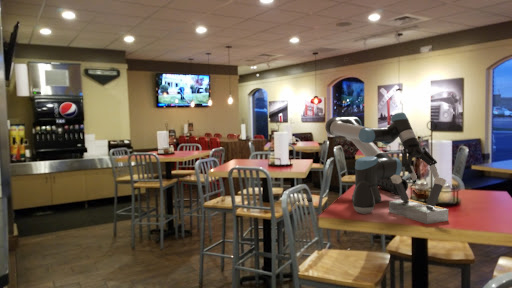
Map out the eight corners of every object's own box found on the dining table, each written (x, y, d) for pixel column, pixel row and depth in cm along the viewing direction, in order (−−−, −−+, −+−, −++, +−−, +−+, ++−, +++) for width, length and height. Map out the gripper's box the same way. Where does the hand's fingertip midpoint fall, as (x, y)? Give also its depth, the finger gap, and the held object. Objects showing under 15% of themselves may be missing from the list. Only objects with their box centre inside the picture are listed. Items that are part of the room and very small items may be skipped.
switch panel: (389, 212, 184) (389, 201, 184) (408, 209, 189) (408, 198, 188) (426, 224, 163) (427, 211, 163) (448, 220, 167) (448, 208, 167)
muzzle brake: (392, 196, 219) (392, 178, 218) (371, 187, 247) (371, 171, 246) (408, 195, 220) (408, 177, 220) (385, 186, 248) (385, 170, 247)
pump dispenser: (371, 216, 177) (371, 183, 176) (349, 213, 183) (349, 181, 182) (377, 211, 186) (378, 180, 185) (356, 209, 191) (356, 178, 190)
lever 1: (401, 202, 183) (390, 177, 180) (405, 199, 184) (394, 174, 181) (407, 204, 180) (395, 178, 177) (411, 201, 181) (399, 175, 177)
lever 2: (423, 206, 170) (435, 176, 172) (427, 208, 171) (439, 179, 173) (430, 208, 167) (442, 177, 168) (434, 210, 168) (446, 180, 169)
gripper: (393, 137, 189) (410, 176, 179) (432, 136, 198) (451, 173, 188) (384, 144, 195) (401, 183, 185) (423, 143, 204) (440, 180, 194)
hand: (426, 178), depth 187 cm, fingers open, 13 cm apart
